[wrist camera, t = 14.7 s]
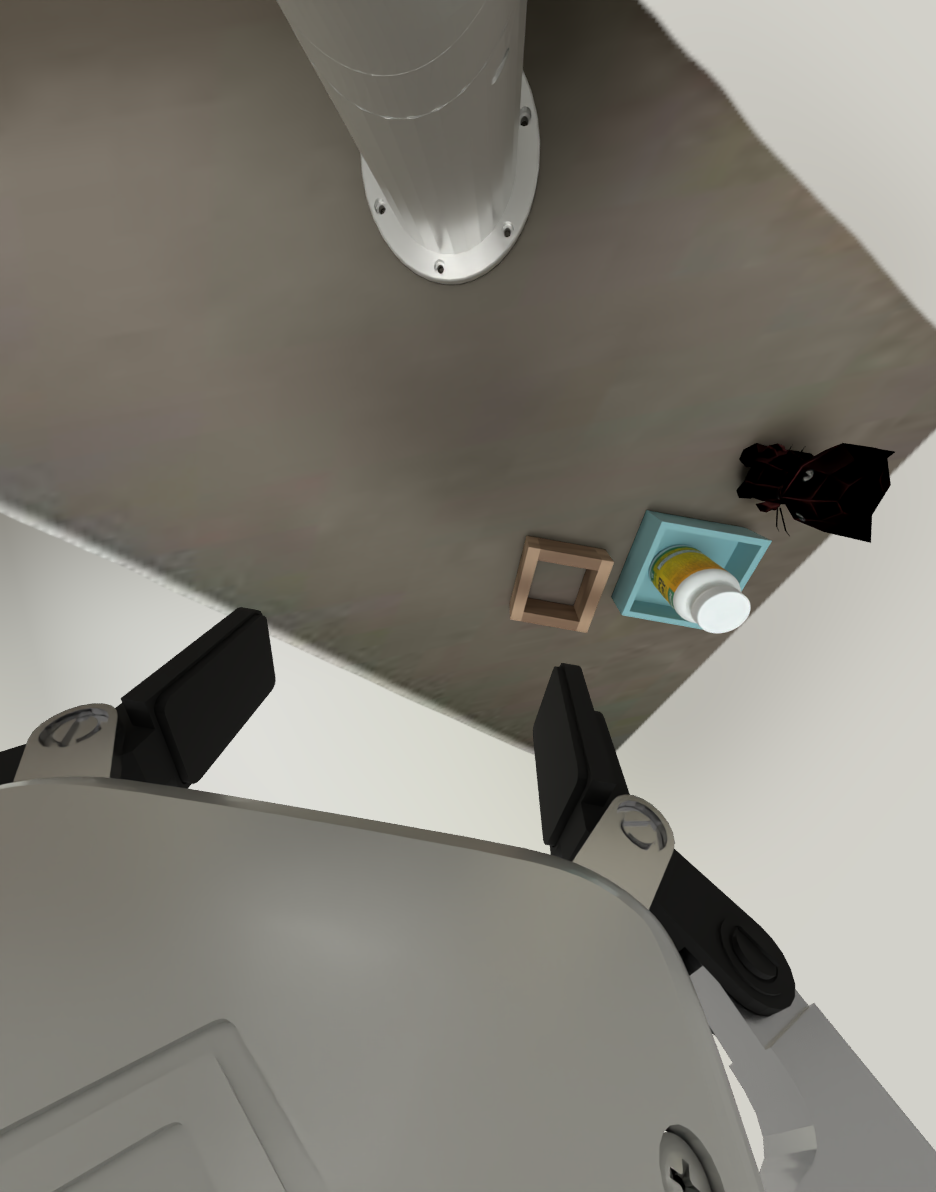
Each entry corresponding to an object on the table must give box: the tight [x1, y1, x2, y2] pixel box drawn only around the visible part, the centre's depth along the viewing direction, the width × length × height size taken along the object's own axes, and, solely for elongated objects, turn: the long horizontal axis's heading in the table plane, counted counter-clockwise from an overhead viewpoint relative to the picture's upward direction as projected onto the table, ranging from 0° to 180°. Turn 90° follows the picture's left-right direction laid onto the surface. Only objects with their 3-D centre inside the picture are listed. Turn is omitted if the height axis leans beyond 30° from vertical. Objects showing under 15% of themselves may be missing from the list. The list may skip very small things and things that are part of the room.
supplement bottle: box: [649, 545, 750, 633], centre depth 33 cm, size 5×5×10 cm
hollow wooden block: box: [510, 536, 614, 633], centre depth 39 cm, size 9×9×4 cm
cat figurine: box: [737, 443, 895, 542], centre depth 28 cm, size 7×7×12 cm
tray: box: [611, 510, 772, 629], centre depth 37 cm, size 10×10×4 cm
